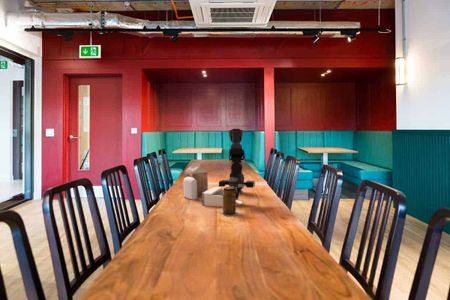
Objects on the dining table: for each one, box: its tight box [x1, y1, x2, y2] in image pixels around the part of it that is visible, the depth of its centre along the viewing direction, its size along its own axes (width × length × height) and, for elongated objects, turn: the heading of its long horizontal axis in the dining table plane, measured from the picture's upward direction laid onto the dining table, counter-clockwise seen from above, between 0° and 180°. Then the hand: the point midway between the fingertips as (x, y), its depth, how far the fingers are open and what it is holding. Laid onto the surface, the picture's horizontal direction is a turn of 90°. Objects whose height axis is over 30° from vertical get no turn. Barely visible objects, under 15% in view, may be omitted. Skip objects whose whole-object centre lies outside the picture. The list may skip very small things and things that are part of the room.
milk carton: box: [183, 162, 209, 197], centre depth 179 cm, size 11×11×19 cm
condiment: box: [219, 186, 241, 217], centre depth 137 cm, size 7×8×12 cm
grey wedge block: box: [201, 186, 224, 208], centre depth 159 cm, size 17×11×6 cm, turn 163°
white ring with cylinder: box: [236, 199, 243, 206], centre depth 156 cm, size 12×12×4 cm
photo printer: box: [182, 177, 198, 201], centre depth 169 cm, size 10×4×12 cm, turn 39°
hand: (237, 199), depth 155 cm, fingers closed
